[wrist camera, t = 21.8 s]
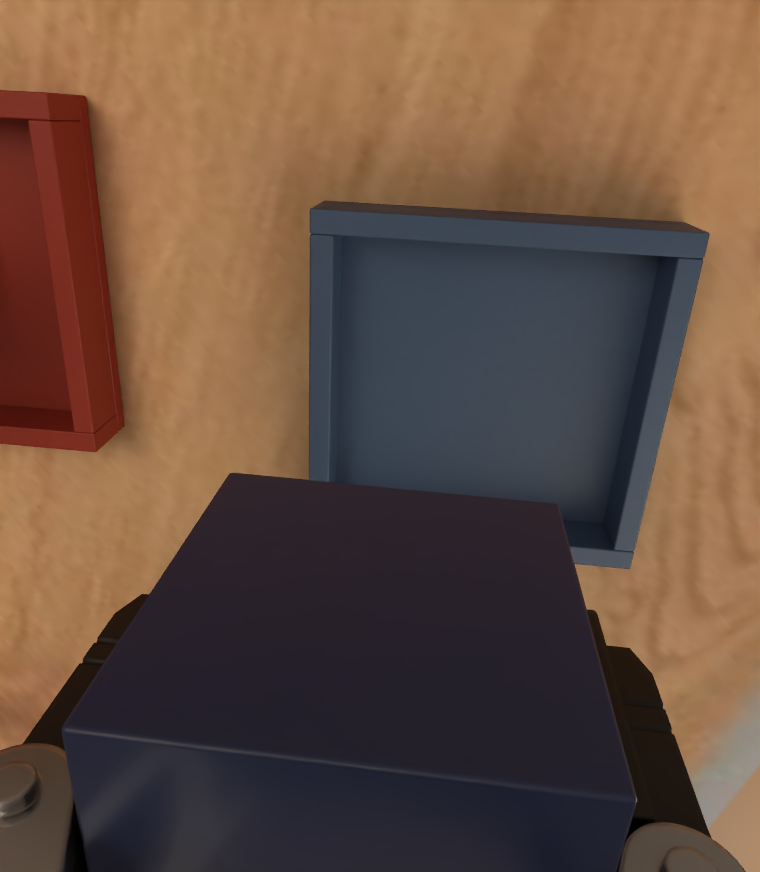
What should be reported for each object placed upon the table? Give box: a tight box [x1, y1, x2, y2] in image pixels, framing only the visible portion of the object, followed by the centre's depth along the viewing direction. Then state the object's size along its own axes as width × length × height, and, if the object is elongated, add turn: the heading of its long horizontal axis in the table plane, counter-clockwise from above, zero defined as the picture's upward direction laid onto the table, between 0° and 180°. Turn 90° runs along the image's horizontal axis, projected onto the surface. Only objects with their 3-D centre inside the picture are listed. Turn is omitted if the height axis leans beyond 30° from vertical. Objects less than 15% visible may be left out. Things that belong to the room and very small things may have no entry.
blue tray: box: [309, 201, 710, 569], centre depth 26 cm, size 13×13×3 cm
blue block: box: [62, 473, 637, 872], centre depth 9 cm, size 5×5×5 cm
